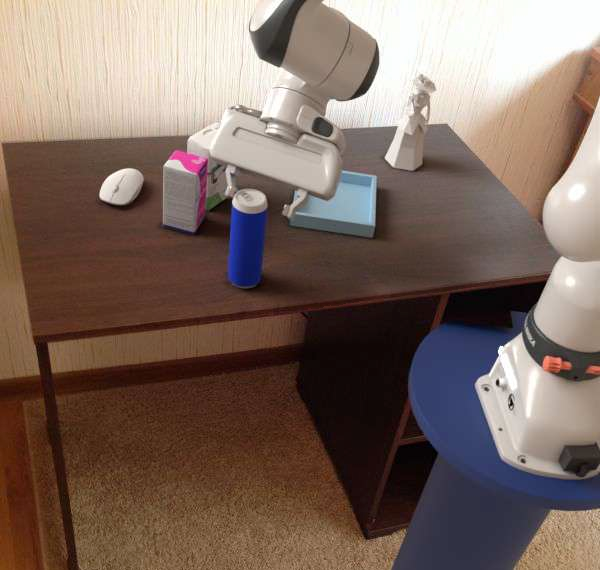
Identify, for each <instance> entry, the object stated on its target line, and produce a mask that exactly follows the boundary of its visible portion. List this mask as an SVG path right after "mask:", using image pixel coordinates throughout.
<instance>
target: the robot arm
mask: <svg viewBox="0 0 600 570" xmlns="http://www.w3.org/2000/svg"><path fill="white" fill-rule="evenodd" d="M324 1H325V0H258V2H257V4H256V5H255V8H254V9H253V11H252V14H251V16H250V19H249V23H248V32H249V33H248V34H249V38H250V41H251V44H252V46H253V49H254V51H255V54H256V56H257V58H258V60H261V61H263V62H266V63H268V64H270V65H272V66H273V67H276V68H278V69H280V71H279V74H278V77H277V80H276V81H275V82H274V83H273V85H272V86H271V88H270V91H269V94H268V97H267V99H266V102H265V105H264V107H263V110H262V111H261V110H258V109H255V108H250V107H247V106H245V105H242V104H236V105H232V106H229V107H228V108H226V109H225V111H224V112H223V115H222V118H221V119H220V120H221V121H220V124H221V126H220V128H219V129H218V131H217V133H216V135H215V137H214V139H213V141H212V143H211V146H210V149H209V152H210V155H211V158H212V159H213V160H214V161H215V162H216V163H217V164H220V165H222V166H225V167H227V169H226V177H227V183H228V187H227V189H226V192H225V197H226V199H228V200H231V201H233V198H234V196H235V194H236V193H237V192H238V191H240V190H241V189H239V188H238V187H236V180H235V181H234V177H236V179H237V178H239V176H240V173H242V174H246V175H248V176H252V177H255V178H258V179H261V180H263V181H267V182H270V183H273V184H275V185H278V186H281V187H285V188H287V189H290V190H293V191H295V190H296V191H298V192H297V196H298V199H297V200H296V201H295V202H294V203H293V202H292V203H291V204H290V205H289V204H284V207H283V210H282V212H281V217H282V219H285V220H288V221H289V222H290V221H292V220H293V218H294V216H295V213H296V210H299V209H300V208H301V207H302V206H303V205H305V204H306V203H307V202H308V199H309V197H310V195H311V196H313V197H316V198H319V199H322V200H325V201H329V200H330V199H332V198H333V197H334V196H335V194H336V192H337V189H338V186H339V182H340V179H341V174H342V171H343V170H344V162H343V159H342V156H341V155H343V154H344V152H345V150H346V148H347V143H346V141H347V140H346V138H345V136H344V134H343V132H342V130H341V128H340V127H338V125H336V124H335V123H334V122H333V121H330V120H329V119H328V118H327V117H325V116H326V113H327V107H328V103H329V102H330V101H331V100H335V101H337V102H348V101H353V100H355V99H358V98H361V97H363V96H365V95H366V94H367V93H368V92H369V90H370V88H371V87H372V85H373V83H374V80H375V79H376V76H377V74H378V70H379V67H380V49H379V45H378V42H377V39H376V38H374V37H373V36H372V35H371V34H370V33H369V32H367V31H366V30H365V29H363V28H362V27H360V26H359V25H358V24H355V23H354V22H353V21H351V20H350V19H349V18H348V17H347V16H346V15H345V14H344V13H343V12H341V10H340V11H339V10H338V9H336V8H334V7H330V6H328V5H326V4H325V3H323V2H324ZM587 127H588V128H587V130H586V132H585V134H584V137H583V139H582V142H581V144H580V146H579V148H578V149H577V152H576V153H575V156H574V157H573V160H572V162H570V165H569V166H568V168H567V169H566V171H565V173H563V175H562V176H561V178H559V180H558V181H557V182H556V183H555V184H554V185H553V186H552V188H551V189H550V191H549V192H548V193H547V195H546V198H545V200H544V203H543V206H542V226H543V230H544V233H545V234H544V235H545V236H546V239H547V240H548V242H549V244H550V246H551V247H552V248H553V249H554V251H555V252H556V253H557V254H558V255H560V257H559V259H558V260H557V261H556V262H555V264H554V266H553V268H552V270H551V273H550V275H549V277H548V279H547V281H546V284H545V286H544V288H543V290H542V292H541V295H540V297H539V299H538V301H537V302H536V303H535V304H534V305H533V306H532V308H531V309H530V310H529V311H528V313H529V314H528V315H527V317H526V320H525V323H524V326H523V328H522V332H521V333H520V334H519V335H518V336H517V337H515V338H514V339H513V340H511V341H510V342H508V343H507V344H506V345H505V346H504V348H503V347H502V346H500V349H499V351H498V352H499V357H498V358H497V360H496V362H495V364H494V366H493V368H492V370H491V371H490V373H489V374H487V375H484V376H482V377H480V378H479V379H478V380H477V382H476V383H475V388H476V391H477V394H478V397H479V399H480V402H481V405H482V408H483V411H484V413H485V416H486V419H487V422H488V425H489V427H490V430H491V433H492V436H493V439H494V442H495V444H496V447H497V450H498V453H499V455H500V457H501V459H502V460H503V461H504V462H506V463H507V464H509V465H511V466H513V467H515V468H517V469H519V470H522V471H524V472H528V473H531V474H535V475H539V476H544V477H550V478H557V479H569V480H578V479H587V478H591V477H594V476H596V475H598V474H599V472H600V96H599V98H598V101H597V104H596V107H595V109H594V112H593V115H592V118H591V120H590V123H589V125H588V126H587ZM522 462H523V463H522Z"/></svg>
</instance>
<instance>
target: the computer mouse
mask: <svg viewBox="0 0 600 570" xmlns="http://www.w3.org/2000/svg"><path fill="white" fill-rule="evenodd" d="M144 181H145V180H144V176H143V174H142V173H141V171H139V170H138V169H135V168H129V167H128V168H127V167H126V168H123V169H119V170H117V171H115V172H113V173H111V174H110V175H108V176H107V177H106V179H105V180H104V181H103V183H102V185H101V188H100V190H99V199H100V200H101V201H103V203H106V204H109V205H112V206H118V207H119V206H120V207H123V206H127V205H129V204H131V203H132V202H133V201H135V199H136V198H137V197H138V196H139V194H140V193H141V190H142V187H143V184H144Z"/></svg>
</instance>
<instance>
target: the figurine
mask: <svg viewBox="0 0 600 570" xmlns="http://www.w3.org/2000/svg"><path fill="white" fill-rule="evenodd" d="M416 75H417V76H416V77H415V78H414V79H412V83H413V84H414V85H415V89H416V91H417V92H415V93H414V92H411V93H410V94H409V95H408V99H407V102H406V103H407V104H406V107H405V111H406V112H405V114H403V116H402V117H400V118H399V120H397V122H396V123H395V125H396V126H397V128H396V131H395V134H394V137H393V140H392V141H391V144H390V146H389V148H388V149H387V152H386V154H385V156H384V160H385V161H386V162H387V163H388V164H390V166H391V167H392V168H394V169H399V170H405V171H412V172H413V171H415V170H416V169H418V168H420V166H422V165H423V159H424V158H423V156H424V155H423V154H424V153H423V152H424V141H425V135H426V133H427V131H428V130H429V129H428V124H429V121H430V117H431V94H433V93H435V92H437V87H436V83H435V82H434V81H433V80H431V79H430V76H426V75H424V74H423V73H422V72H416ZM411 104H412V108H413V110H410V106H411ZM425 107H427V110H426V117H425V115H424V114H423V113H422V112H423V110H424V108H425Z"/></svg>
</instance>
